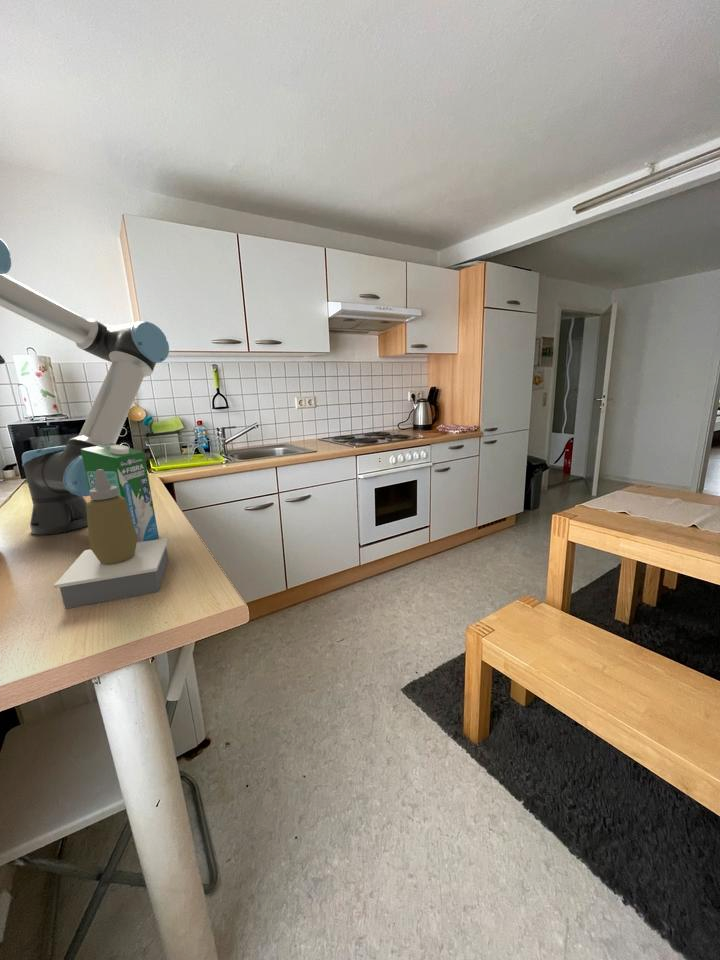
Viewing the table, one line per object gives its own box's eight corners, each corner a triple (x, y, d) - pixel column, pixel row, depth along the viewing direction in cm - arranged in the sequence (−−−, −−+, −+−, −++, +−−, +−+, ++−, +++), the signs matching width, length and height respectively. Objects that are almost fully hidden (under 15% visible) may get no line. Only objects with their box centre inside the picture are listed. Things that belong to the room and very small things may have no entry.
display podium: (89, 571, 83) (84, 550, 82) (171, 558, 88) (167, 538, 87) (60, 610, 68) (54, 585, 67) (160, 592, 73) (156, 568, 72)
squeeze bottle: (123, 548, 82) (106, 464, 78) (150, 552, 79) (134, 466, 75) (83, 564, 75) (63, 473, 71) (111, 570, 72) (91, 475, 67)
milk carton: (133, 551, 93) (113, 448, 87) (101, 549, 95) (79, 448, 89) (159, 536, 102) (142, 442, 96) (129, 535, 104) (111, 442, 98)
